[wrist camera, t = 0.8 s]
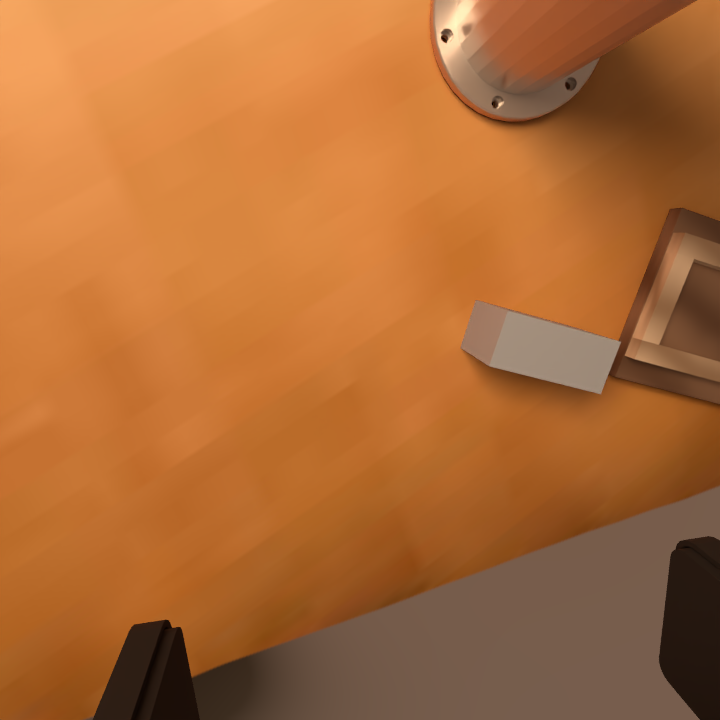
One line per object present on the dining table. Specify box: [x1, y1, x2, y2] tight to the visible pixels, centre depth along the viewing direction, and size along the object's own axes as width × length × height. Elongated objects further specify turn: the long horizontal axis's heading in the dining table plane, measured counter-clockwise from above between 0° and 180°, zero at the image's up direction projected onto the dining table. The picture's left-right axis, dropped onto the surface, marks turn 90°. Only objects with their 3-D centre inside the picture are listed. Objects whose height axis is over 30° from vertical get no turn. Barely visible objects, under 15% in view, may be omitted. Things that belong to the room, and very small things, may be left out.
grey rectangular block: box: [461, 300, 621, 394], centre depth 37 cm, size 4×9×6 cm, turn 74°
